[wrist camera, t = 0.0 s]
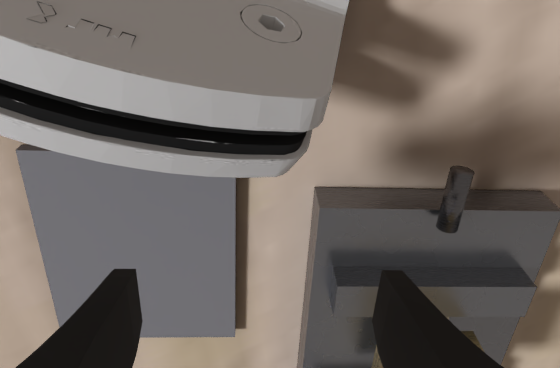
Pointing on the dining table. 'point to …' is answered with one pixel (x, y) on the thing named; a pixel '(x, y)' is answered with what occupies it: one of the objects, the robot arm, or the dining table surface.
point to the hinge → (170, 80)
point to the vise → (421, 262)
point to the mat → (136, 239)
